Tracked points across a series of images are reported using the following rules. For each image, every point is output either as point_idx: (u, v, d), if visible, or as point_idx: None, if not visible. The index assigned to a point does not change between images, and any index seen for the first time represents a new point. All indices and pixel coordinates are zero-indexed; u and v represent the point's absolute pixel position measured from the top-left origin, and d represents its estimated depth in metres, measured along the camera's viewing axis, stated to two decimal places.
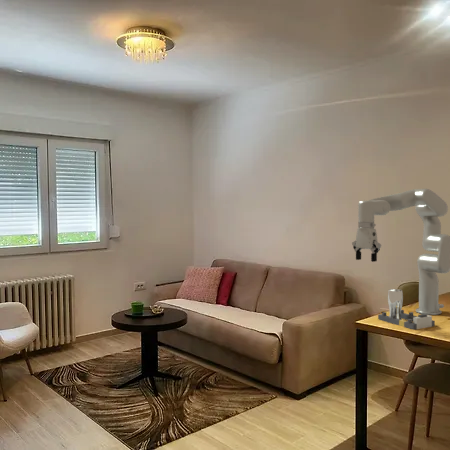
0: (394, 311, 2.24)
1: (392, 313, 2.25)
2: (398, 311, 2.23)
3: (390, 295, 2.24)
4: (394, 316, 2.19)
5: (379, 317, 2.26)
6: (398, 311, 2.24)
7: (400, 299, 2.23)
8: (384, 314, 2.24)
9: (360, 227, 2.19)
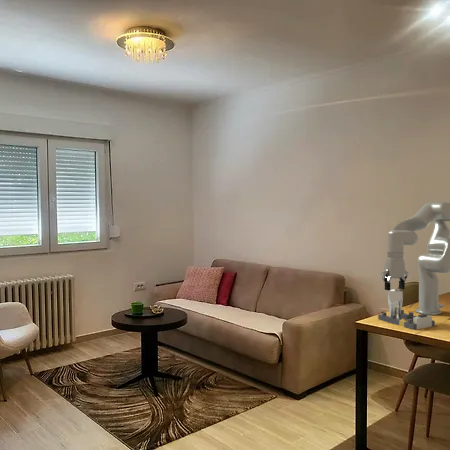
0: (394, 311, 2.24)
1: (392, 313, 2.25)
2: (398, 311, 2.23)
3: (390, 295, 2.24)
4: (394, 316, 2.19)
5: (379, 317, 2.26)
6: (398, 311, 2.24)
7: (400, 299, 2.23)
8: (384, 314, 2.24)
9: (400, 257, 2.22)
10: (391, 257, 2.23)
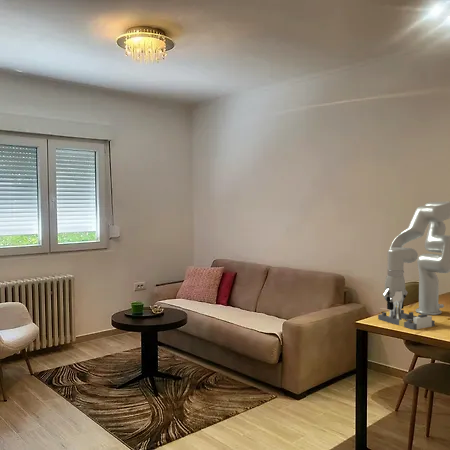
0: (394, 311, 2.24)
1: (392, 313, 2.25)
2: (398, 311, 2.23)
3: None
4: (394, 316, 2.19)
5: (379, 317, 2.26)
6: (398, 311, 2.24)
7: (400, 299, 2.23)
8: (384, 314, 2.24)
9: (400, 275, 2.22)
10: (391, 275, 2.23)
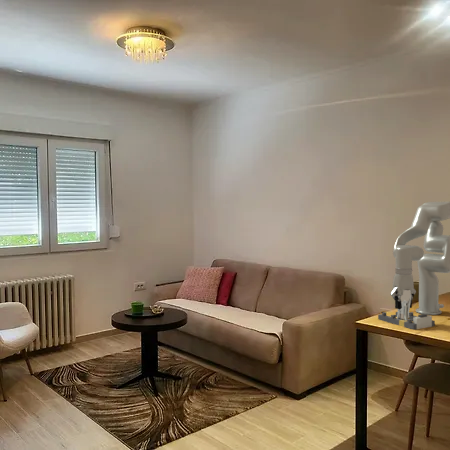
0: (402, 310, 2.19)
1: (400, 313, 2.20)
2: (406, 310, 2.19)
3: None
4: (394, 316, 2.19)
5: (379, 317, 2.26)
6: (406, 310, 2.19)
7: (408, 298, 2.18)
8: (384, 314, 2.24)
9: (409, 274, 2.17)
10: (399, 274, 2.19)
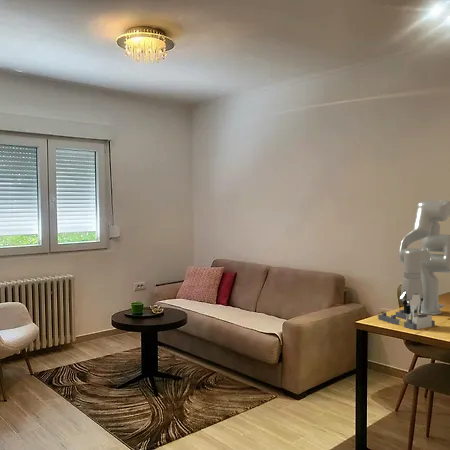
0: (411, 315, 2.15)
1: (409, 318, 2.15)
2: (415, 315, 2.14)
3: None
4: (394, 316, 2.19)
5: (379, 317, 2.26)
6: (415, 315, 2.14)
7: (417, 303, 2.13)
8: (384, 314, 2.24)
9: (418, 278, 2.13)
10: (408, 278, 2.14)
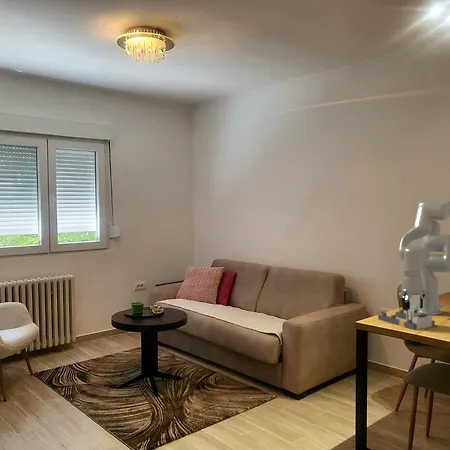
0: (411, 315, 2.15)
1: (409, 318, 2.15)
2: (415, 315, 2.14)
3: None
4: (394, 316, 2.19)
5: (379, 317, 2.26)
6: (415, 315, 2.14)
7: (417, 303, 2.13)
8: (384, 314, 2.24)
9: (418, 276, 2.13)
10: (408, 276, 2.14)
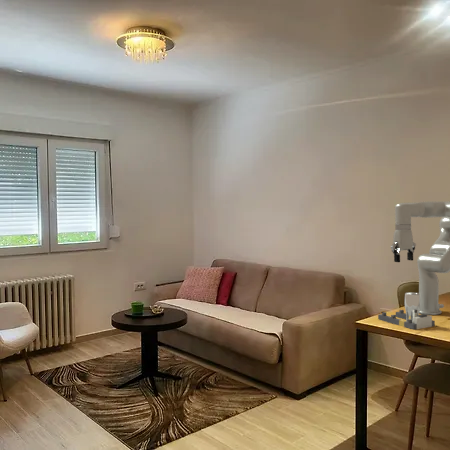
0: (411, 315, 2.15)
1: (409, 318, 2.15)
2: (415, 315, 2.14)
3: (407, 299, 2.15)
4: (394, 316, 2.19)
5: (379, 317, 2.26)
6: (415, 315, 2.14)
7: (417, 303, 2.13)
8: (384, 314, 2.24)
9: (408, 229, 2.26)
10: (399, 229, 2.26)
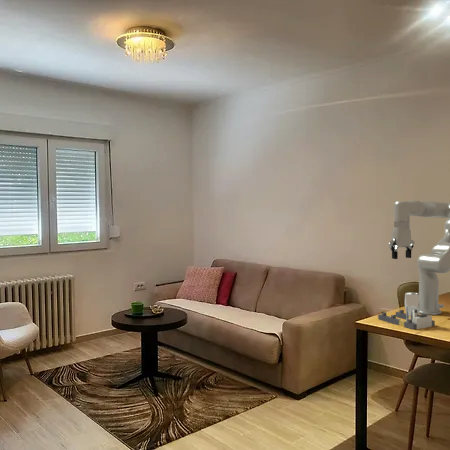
0: (411, 315, 2.15)
1: (409, 318, 2.15)
2: (415, 315, 2.14)
3: (407, 299, 2.15)
4: (394, 316, 2.19)
5: (379, 317, 2.26)
6: (415, 315, 2.14)
7: (417, 303, 2.13)
8: (384, 314, 2.24)
9: (407, 226, 2.28)
10: (398, 227, 2.29)
